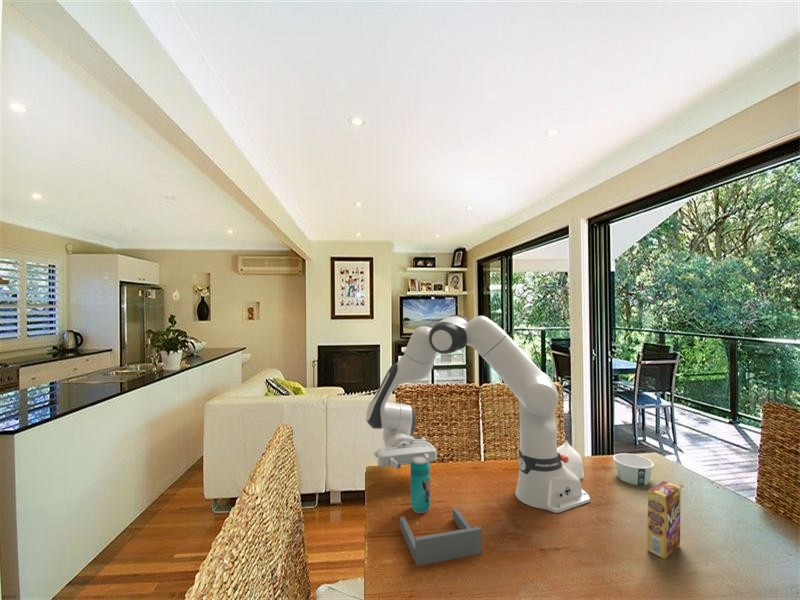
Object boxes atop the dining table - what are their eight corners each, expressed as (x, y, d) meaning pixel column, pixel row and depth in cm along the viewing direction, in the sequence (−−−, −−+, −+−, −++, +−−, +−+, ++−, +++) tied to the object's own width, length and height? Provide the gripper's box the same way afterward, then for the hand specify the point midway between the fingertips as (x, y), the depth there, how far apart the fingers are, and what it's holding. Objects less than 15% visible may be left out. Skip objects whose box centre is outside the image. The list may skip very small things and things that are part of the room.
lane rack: (456, 518, 108) (456, 497, 108) (481, 553, 93) (481, 529, 93) (400, 527, 104) (399, 505, 104) (416, 566, 88) (416, 540, 88)
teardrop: (563, 482, 129) (563, 447, 129) (544, 468, 140) (543, 436, 140) (591, 478, 132) (590, 443, 132) (569, 465, 142) (569, 433, 142)
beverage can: (423, 517, 109) (423, 465, 109) (407, 510, 112) (406, 460, 112) (433, 508, 113) (433, 458, 113) (417, 502, 117) (417, 453, 117)
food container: (607, 470, 138) (607, 452, 138) (643, 472, 136) (643, 454, 136) (622, 486, 126) (622, 466, 126) (661, 488, 124) (661, 468, 124)
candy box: (666, 560, 90) (665, 496, 90) (646, 551, 93) (645, 489, 93) (682, 547, 94) (681, 486, 95) (662, 538, 98) (661, 479, 98)
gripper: (372, 442, 131) (380, 458, 118) (428, 436, 136) (442, 451, 123) (372, 460, 131) (380, 478, 117) (428, 454, 136) (442, 470, 123)
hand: (412, 464), depth 120 cm, fingers open, 8 cm apart
